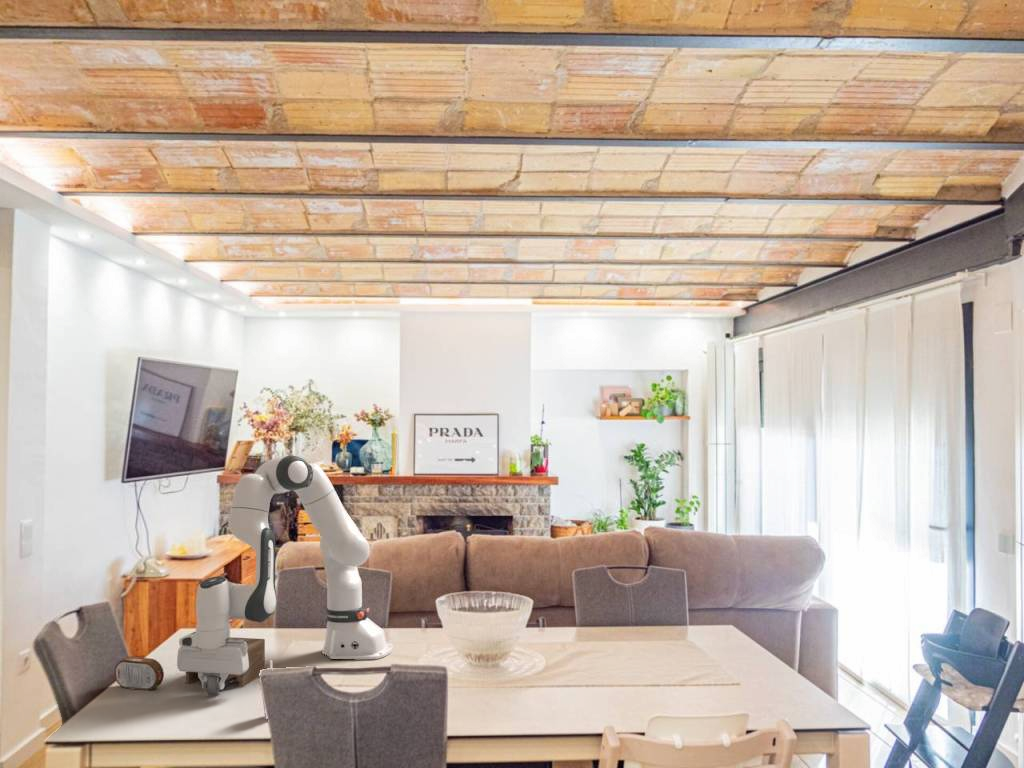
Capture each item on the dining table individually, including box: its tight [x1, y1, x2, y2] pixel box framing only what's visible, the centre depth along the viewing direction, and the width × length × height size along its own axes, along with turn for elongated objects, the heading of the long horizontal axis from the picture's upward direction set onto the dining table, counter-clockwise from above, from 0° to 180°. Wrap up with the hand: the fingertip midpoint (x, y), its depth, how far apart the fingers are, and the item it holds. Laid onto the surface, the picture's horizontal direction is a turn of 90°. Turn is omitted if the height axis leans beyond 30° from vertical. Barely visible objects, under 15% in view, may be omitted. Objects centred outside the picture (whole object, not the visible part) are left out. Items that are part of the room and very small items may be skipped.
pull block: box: [206, 674, 240, 697], centre depth 222 cm, size 5×18×5 cm, turn 168°
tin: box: [114, 656, 165, 691], centre depth 221 cm, size 15×3×8 cm, turn 74°
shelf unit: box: [185, 636, 266, 688], centre depth 229 cm, size 18×12×10 cm, turn 78°
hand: (213, 688), depth 215 cm, fingers closed on pull block, 3 cm apart
